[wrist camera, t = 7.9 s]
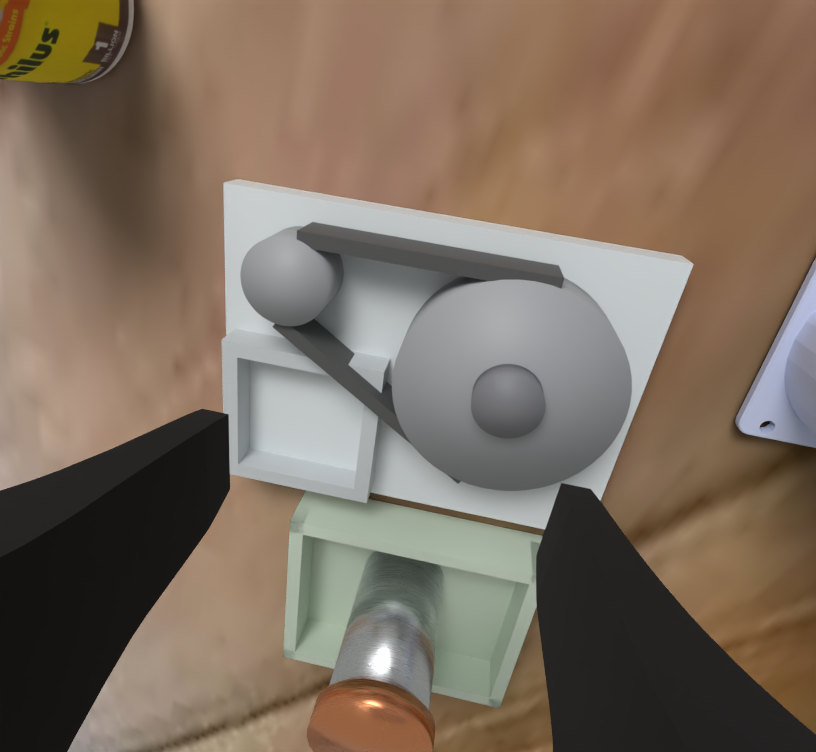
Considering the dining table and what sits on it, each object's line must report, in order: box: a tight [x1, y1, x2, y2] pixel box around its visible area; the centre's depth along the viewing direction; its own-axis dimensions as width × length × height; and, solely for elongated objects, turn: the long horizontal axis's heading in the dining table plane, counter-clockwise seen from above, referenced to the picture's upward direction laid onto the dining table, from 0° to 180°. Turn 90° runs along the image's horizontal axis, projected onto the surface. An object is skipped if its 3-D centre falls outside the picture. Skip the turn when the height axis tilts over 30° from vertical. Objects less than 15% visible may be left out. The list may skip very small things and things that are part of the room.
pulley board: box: [222, 179, 693, 529], centre depth 20 cm, size 16×12×4 cm
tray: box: [283, 490, 543, 708], centre depth 26 cm, size 11×9×2 cm
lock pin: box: [307, 551, 444, 752], centre depth 23 cm, size 5×5×8 cm
